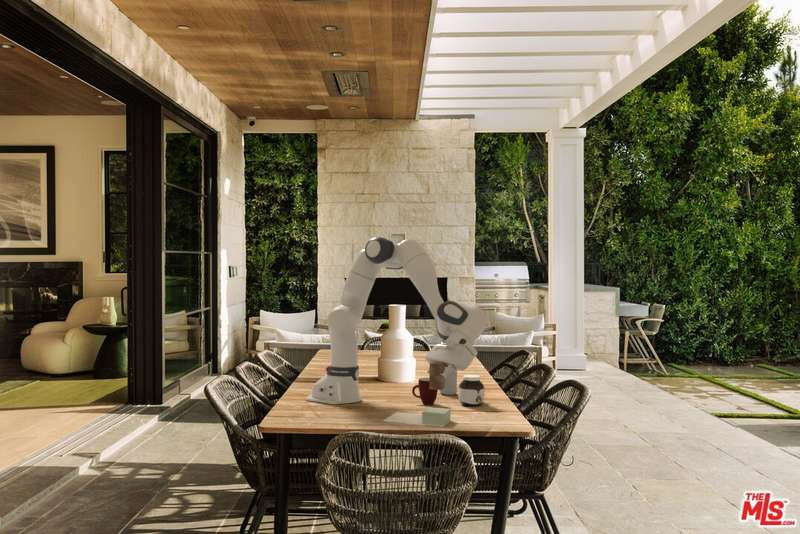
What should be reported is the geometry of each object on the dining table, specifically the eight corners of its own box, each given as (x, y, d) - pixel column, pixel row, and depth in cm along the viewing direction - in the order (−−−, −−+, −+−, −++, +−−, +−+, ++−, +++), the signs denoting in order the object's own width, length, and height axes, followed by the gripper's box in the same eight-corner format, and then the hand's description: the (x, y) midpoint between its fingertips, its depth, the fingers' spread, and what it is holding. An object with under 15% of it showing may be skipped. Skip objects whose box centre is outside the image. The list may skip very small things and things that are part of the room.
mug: (412, 406, 271) (412, 380, 271) (412, 401, 279) (412, 377, 279) (438, 406, 271) (439, 381, 271) (437, 402, 279) (438, 377, 279)
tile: (382, 423, 240) (382, 420, 240) (396, 414, 254) (396, 412, 254) (442, 429, 233) (442, 426, 233) (453, 420, 247) (453, 417, 247)
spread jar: (464, 407, 269) (465, 378, 269) (451, 402, 280) (451, 373, 279) (491, 405, 274) (491, 376, 274) (477, 400, 284) (477, 372, 284)
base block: (422, 423, 238) (422, 411, 237) (428, 418, 245) (428, 407, 245) (444, 425, 235) (444, 413, 235) (450, 420, 242) (450, 409, 242)
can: (455, 396, 292) (456, 368, 292) (438, 395, 294) (438, 367, 293) (457, 393, 299) (458, 365, 299) (440, 392, 301) (441, 364, 301)
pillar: (429, 389, 239) (429, 363, 239) (432, 386, 243) (433, 361, 243) (441, 389, 237) (441, 364, 237) (444, 387, 241) (445, 362, 241)
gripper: (435, 336, 252) (413, 365, 247) (471, 342, 236) (449, 372, 230) (444, 347, 255) (423, 376, 249) (481, 354, 238) (459, 384, 233)
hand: (435, 374), depth 240 cm, fingers closed on pillar, 6 cm apart
